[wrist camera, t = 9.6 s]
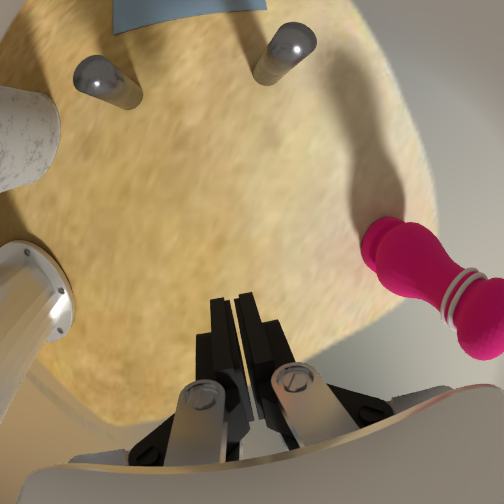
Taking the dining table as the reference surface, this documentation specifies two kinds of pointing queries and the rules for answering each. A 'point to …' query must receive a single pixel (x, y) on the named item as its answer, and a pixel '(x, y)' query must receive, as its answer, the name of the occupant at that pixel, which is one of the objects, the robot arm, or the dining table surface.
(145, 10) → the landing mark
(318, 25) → the dining table surface
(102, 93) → the post
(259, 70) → the post
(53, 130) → the speckled stone cylinder
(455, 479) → the robot arm
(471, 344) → the pepper mill
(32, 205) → the dining table surface
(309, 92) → the dining table surface
